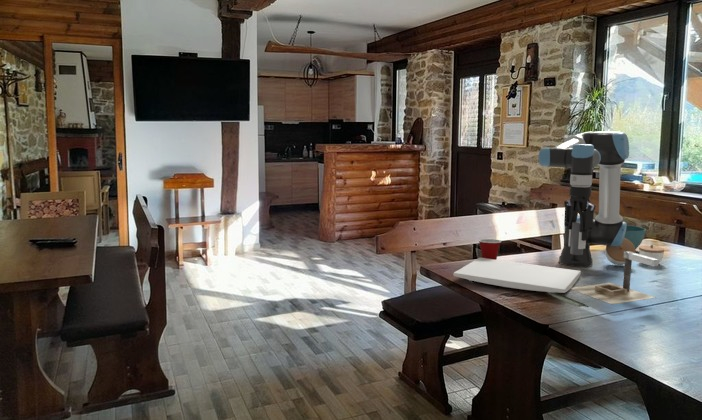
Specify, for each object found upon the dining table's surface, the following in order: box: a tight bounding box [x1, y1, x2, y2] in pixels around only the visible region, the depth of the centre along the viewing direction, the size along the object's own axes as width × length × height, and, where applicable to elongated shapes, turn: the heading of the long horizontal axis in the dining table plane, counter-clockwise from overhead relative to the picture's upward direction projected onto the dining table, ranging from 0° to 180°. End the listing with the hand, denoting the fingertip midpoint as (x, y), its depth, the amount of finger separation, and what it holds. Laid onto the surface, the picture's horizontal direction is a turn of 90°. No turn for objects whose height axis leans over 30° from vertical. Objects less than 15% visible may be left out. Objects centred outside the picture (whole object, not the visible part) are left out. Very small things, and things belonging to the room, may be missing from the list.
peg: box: [570, 222, 583, 255], centre depth 210 cm, size 4×4×12 cm
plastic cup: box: [478, 238, 502, 260], centre depth 267 cm, size 11×11×12 cm
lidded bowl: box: [604, 238, 637, 266], centre depth 264 cm, size 13×13×11 cm
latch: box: [623, 251, 659, 267], centre depth 214 cm, size 4×14×2 cm, turn 20°
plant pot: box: [624, 225, 647, 250], centre depth 296 cm, size 18×18×12 cm
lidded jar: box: [638, 244, 665, 264], centre depth 268 cm, size 11×11×9 cm
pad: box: [551, 292, 587, 307], centre depth 214 cm, size 14×9×1 cm, turn 22°
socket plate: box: [569, 259, 656, 305], centre depth 217 cm, size 22×22×14 cm
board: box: [452, 257, 582, 296], centre depth 238 cm, size 45×32×5 cm
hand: (576, 247), depth 211 cm, fingers closed on peg, 4 cm apart
